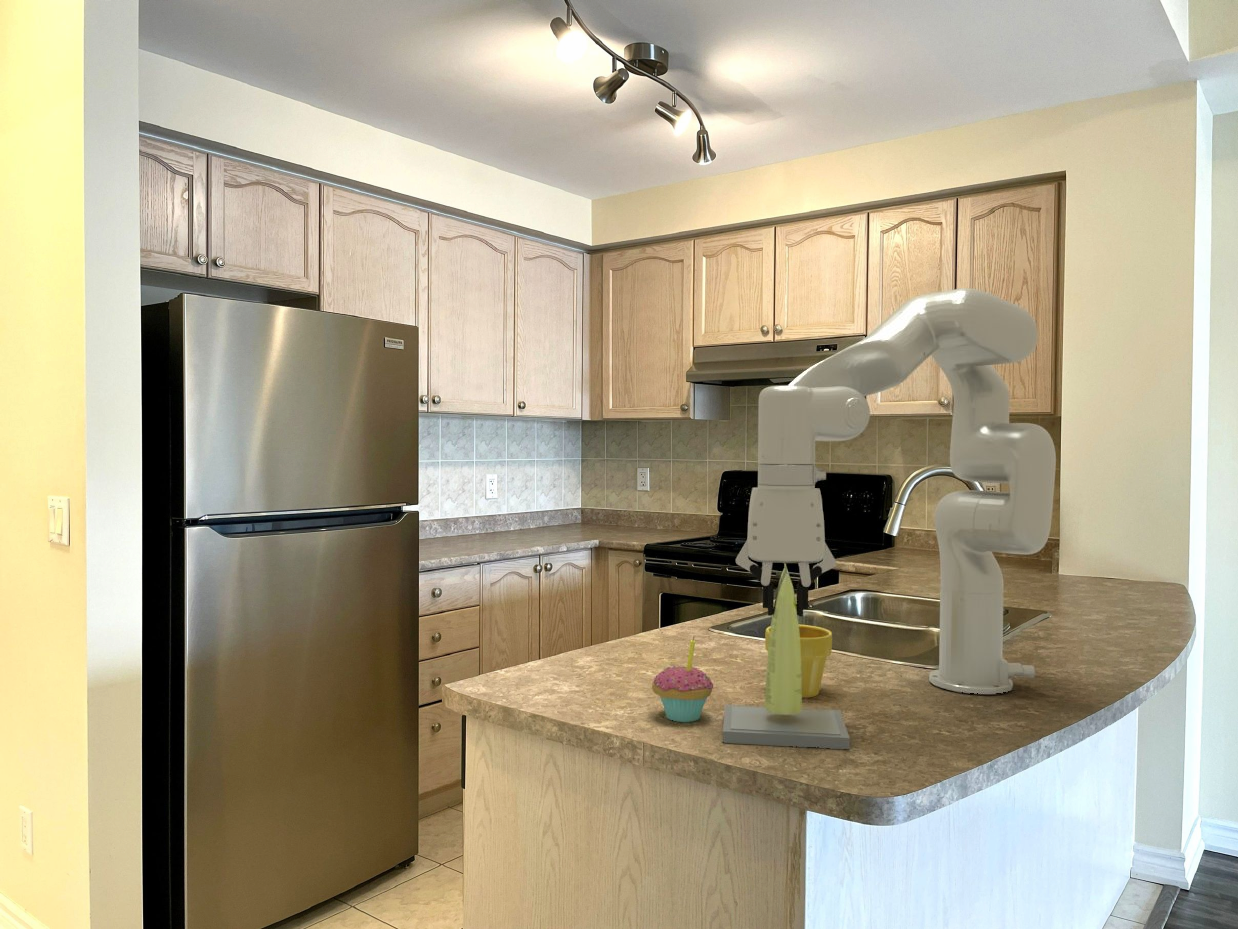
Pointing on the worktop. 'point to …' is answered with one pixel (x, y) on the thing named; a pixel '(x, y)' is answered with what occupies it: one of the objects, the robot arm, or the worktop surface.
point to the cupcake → (683, 690)
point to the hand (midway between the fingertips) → (785, 612)
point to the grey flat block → (785, 728)
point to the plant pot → (811, 656)
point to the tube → (784, 653)
